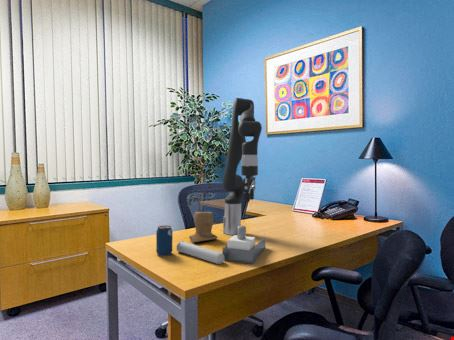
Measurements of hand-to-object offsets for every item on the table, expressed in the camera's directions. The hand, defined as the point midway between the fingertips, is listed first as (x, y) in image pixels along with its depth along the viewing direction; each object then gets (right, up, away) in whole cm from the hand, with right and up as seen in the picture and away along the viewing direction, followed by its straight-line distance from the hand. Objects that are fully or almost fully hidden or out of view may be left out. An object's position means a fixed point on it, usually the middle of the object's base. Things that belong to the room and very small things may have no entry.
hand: (249, 200), depth 140 cm
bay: (-2, -24, -3) cm, 24 cm away
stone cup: (-23, -23, +18) cm, 37 cm away
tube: (-21, -24, -9) cm, 33 cm away
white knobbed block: (-4, -22, -9) cm, 24 cm away
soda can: (-38, -23, -5) cm, 45 cm away
